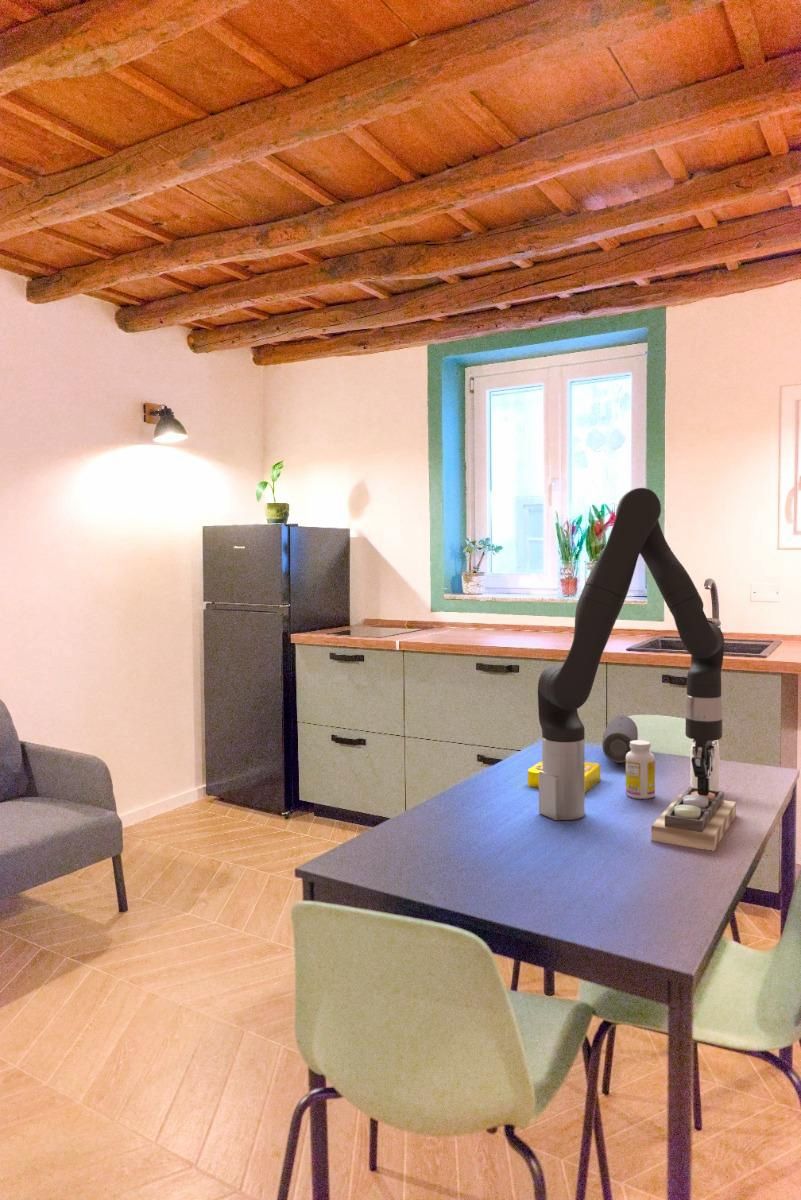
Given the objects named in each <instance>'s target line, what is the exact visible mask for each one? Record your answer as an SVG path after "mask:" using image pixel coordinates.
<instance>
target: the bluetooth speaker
mask: <svg viewBox="0 0 801 1200" xmlns="http://www.w3.org/2000/svg"><path fill="white" fill-rule="evenodd" d="M602 734H603V736H602V742H601V745H602V746H601V747H602V751H603V754H604V755H605V757H606V758H607V759H608V760H610V761H612V762H614V763H619V764H620V763H621V764H622V763H626V754H627V753H628V752H630V751H631V748H630V741H633V740H639V739H638V738H639V732H638V726H637V724H636V722H635V721H634V720H633V719H632V718H631V717H629V716H627V715H618V716H614V717H613V718H612V719H610V721H609V722H608V723H607V725H606V728H605V730H604V732H603V733H602Z"/></svg>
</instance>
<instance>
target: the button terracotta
mask: <svg viewBox="0 0 801 1200" xmlns="http://www.w3.org/2000/svg"><path fill="white" fill-rule="evenodd" d="M691 795H699V794H698V791H695V792H692V793H691ZM700 796H704V797H706V798H710V799H715V794H713V793H710V792H709V794H708V795H707V796H705V795H700Z"/></svg>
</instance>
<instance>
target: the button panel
mask: <svg viewBox="0 0 801 1200" xmlns="http://www.w3.org/2000/svg"><path fill="white" fill-rule="evenodd" d="M695 791H698V788H694V787H690V786H689V788H687V789H686V791H684V793H683V794H682V793H679V794H678V795H677V796H676V798H674V799H673V801H672V802H671V803H670V804H669V805H668V807H667V808H665V809H664V811H663V812H662V813H661V814H660V815H659V817H657V819H656V820H655V821H654V822H653V824H651V827H650V828H651V830H650V831H651V833H650V834H651V836H650V837H651V838H650V839H651V841H653V842H658V843H665V844H666V843H667V844H671V845H677V846H683V847H688V848H695V849H700V850H705V849H706V851H710V850H712V852H714V851H715V850H716V848H717V847H718V845H719V843H720V842H721V841H722V839H723V837H724V835H725V834H726V832H727V831H728V830H729V828H730V826H731V824H732V822H733V821H734V819H735V818H736V816H737V802H736V801H732V800H725V799H724V798H725V797H724V795H725V794H724V793H725V792H724V791H722V790H719V791H716V790H709V792H710V793H713V794H715V799H710V798H708V809H703V808H700V809H701V817H700V820H697V819H690V818H684V817H677V816H674V807H675V806H677V805H683V797H684V796H686V795H691V793H692V792H695Z"/></svg>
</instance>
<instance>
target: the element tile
mask: <svg viewBox="0 0 801 1200" xmlns="http://www.w3.org/2000/svg"><path fill="white" fill-rule="evenodd" d="M539 771H542V760H541V761H539V762H537V763H536V764H534V765H532V766H531V767H529V768H528V769H527V786H529V787H531V788H538V789H539ZM600 781H601V764H599V763H597V762H590V761H585V793H587V792H588V791H589V790H591V789H592V788H593V787H594V786H596V785H597V784H598V783H599V782H600ZM597 782H598V783H597ZM596 783H597V784H596ZM595 784H596V785H595ZM593 785H594V786H593ZM592 786H593V787H592ZM591 787H592V788H591ZM588 789H589V790H588ZM587 790H588V791H587ZM586 791H587V792H586Z"/></svg>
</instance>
